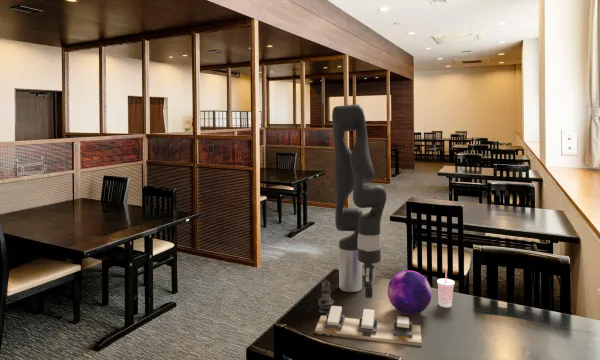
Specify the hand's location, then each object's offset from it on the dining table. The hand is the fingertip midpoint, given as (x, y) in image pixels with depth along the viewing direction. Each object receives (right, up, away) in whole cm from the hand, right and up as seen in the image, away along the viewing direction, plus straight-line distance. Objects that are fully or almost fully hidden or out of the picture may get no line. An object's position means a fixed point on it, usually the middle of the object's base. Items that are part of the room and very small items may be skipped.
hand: (368, 297), depth 134 cm
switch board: (-1, -10, -2) cm, 11 cm away
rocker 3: (+10, -7, -5) cm, 13 cm away
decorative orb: (+16, -9, +10) cm, 21 cm away
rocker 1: (-11, -7, +1) cm, 13 cm away
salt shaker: (-13, -9, +13) cm, 20 cm away
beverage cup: (+31, -8, +16) cm, 35 cm away
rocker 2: (-1, -7, -2) cm, 7 cm away
